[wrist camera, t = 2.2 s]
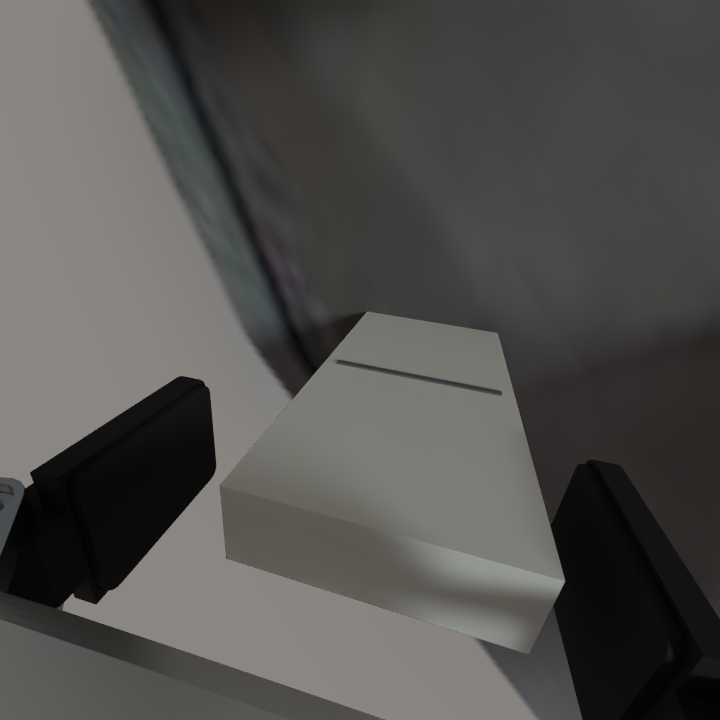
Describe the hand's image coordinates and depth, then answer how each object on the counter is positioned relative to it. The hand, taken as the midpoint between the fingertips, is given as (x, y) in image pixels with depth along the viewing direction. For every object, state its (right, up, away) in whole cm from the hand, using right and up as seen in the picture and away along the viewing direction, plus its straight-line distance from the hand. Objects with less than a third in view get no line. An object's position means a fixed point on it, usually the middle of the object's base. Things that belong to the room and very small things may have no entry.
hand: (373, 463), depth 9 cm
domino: (+3, +3, +8) cm, 9 cm away
